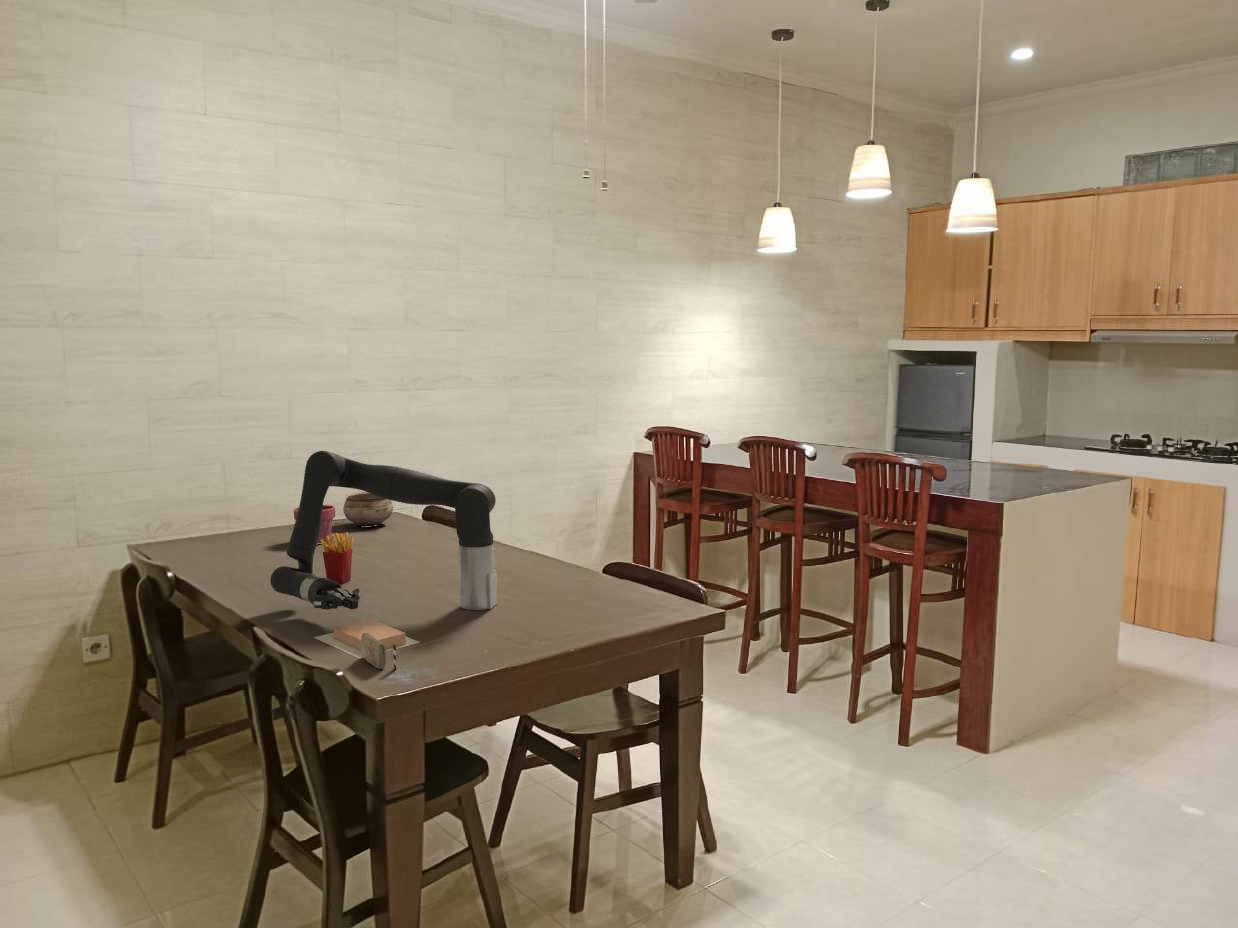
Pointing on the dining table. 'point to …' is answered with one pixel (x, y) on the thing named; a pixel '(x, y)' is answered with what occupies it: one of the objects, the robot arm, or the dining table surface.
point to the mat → (352, 650)
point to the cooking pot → (367, 509)
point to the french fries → (338, 558)
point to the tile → (379, 631)
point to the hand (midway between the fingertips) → (355, 604)
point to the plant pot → (323, 521)
